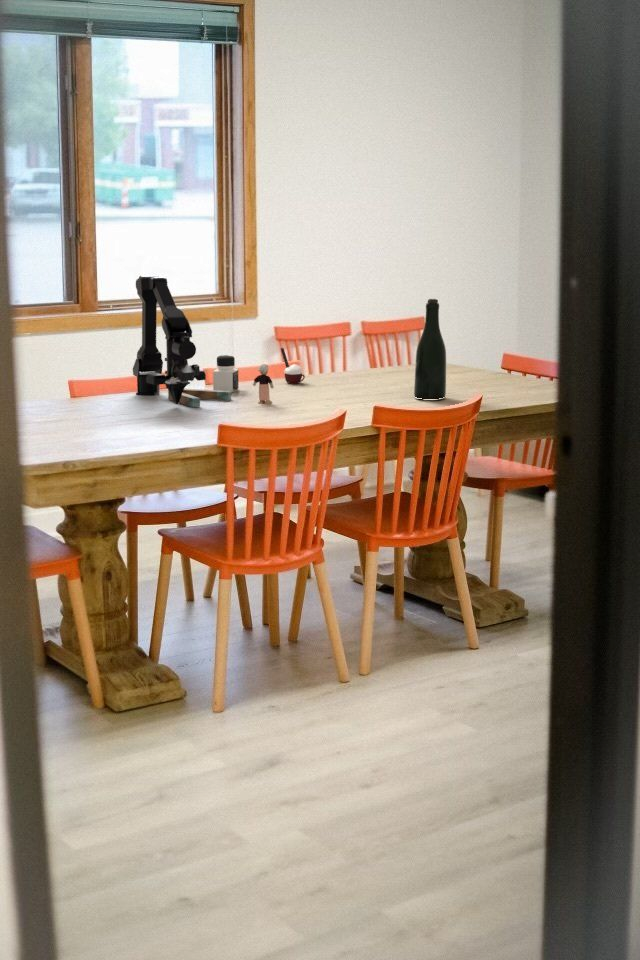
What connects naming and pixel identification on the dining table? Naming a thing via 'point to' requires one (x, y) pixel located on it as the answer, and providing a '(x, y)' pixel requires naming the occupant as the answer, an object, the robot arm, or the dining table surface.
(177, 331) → the robot arm
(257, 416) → the dining table surface
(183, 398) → the tong leg
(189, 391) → the base
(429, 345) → the dark wine bottle
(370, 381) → the dining table surface
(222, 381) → the medicine bottle
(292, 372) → the cocoa
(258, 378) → the grandmother figurine
